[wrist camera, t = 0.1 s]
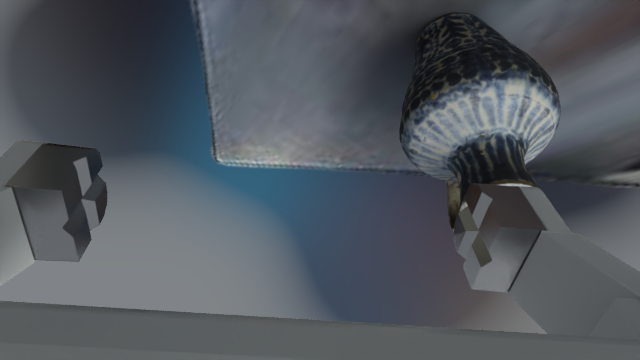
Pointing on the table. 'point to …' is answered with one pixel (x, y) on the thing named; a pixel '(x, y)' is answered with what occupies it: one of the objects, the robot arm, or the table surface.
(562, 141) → the table surface
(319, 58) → the table surface
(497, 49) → the jug
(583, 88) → the table surface
